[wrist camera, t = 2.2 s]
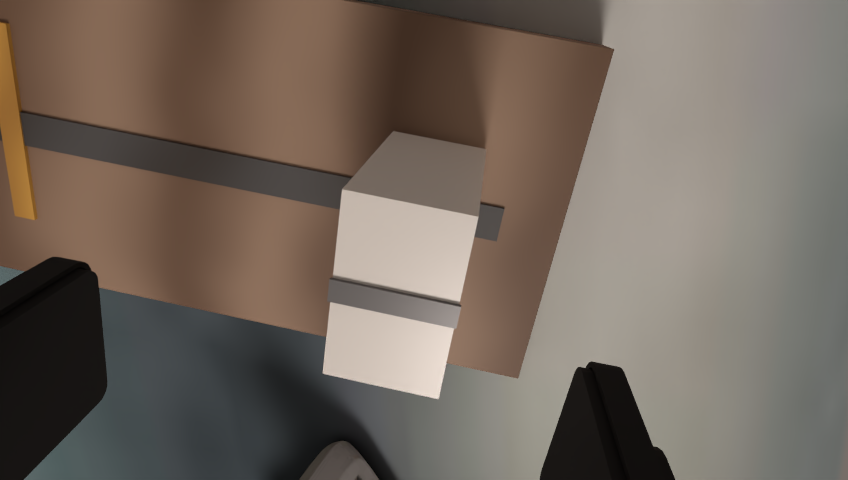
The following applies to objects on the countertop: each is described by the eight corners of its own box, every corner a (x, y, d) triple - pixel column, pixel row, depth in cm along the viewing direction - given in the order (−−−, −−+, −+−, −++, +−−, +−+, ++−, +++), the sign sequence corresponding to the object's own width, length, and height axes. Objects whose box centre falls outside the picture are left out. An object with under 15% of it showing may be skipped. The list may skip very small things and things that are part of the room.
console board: (602, 44, 17) (614, 49, 16) (516, 348, 22) (518, 380, 20) (-113, -85, 19) (-184, -95, 17) (-46, 227, 24) (-95, 247, 22)
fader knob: (488, 149, 17) (480, 219, 11) (458, 286, 19) (440, 402, 14) (391, 130, 17) (338, 190, 12) (372, 268, 19) (319, 375, 14)
